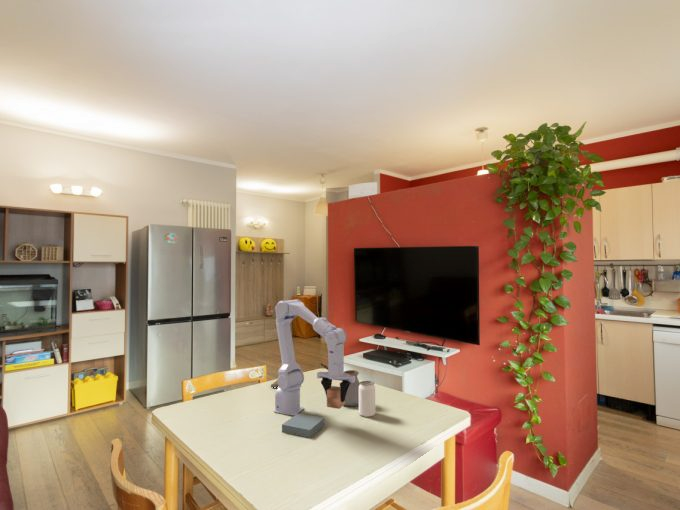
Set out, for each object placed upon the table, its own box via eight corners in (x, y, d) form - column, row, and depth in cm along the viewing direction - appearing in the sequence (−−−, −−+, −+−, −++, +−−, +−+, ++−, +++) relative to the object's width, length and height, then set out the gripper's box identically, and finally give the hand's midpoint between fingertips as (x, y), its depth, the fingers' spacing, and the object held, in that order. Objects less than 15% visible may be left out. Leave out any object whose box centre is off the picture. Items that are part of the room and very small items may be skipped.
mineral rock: (282, 377, 185) (292, 375, 180) (283, 385, 184) (294, 384, 179) (265, 383, 177) (275, 381, 172) (267, 392, 176) (277, 391, 171)
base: (281, 431, 127) (281, 424, 127) (297, 419, 137) (297, 413, 137) (309, 437, 123) (309, 430, 123) (324, 424, 133) (324, 417, 133)
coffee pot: (369, 400, 157) (368, 365, 158) (358, 409, 147) (357, 372, 148) (325, 393, 167) (325, 360, 167) (312, 401, 157) (312, 366, 157)
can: (374, 418, 139) (374, 386, 139) (357, 416, 140) (357, 385, 141) (376, 411, 145) (375, 380, 146) (360, 410, 146) (359, 380, 147)
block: (326, 406, 132) (326, 389, 132) (332, 402, 136) (332, 385, 137) (339, 408, 130) (339, 391, 130) (345, 404, 134) (344, 387, 135)
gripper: (313, 362, 133) (313, 400, 132) (350, 367, 127) (350, 406, 127) (321, 358, 139) (321, 394, 139) (357, 362, 134) (357, 400, 133)
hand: (335, 400), depth 133 cm, fingers closed on block, 5 cm apart
